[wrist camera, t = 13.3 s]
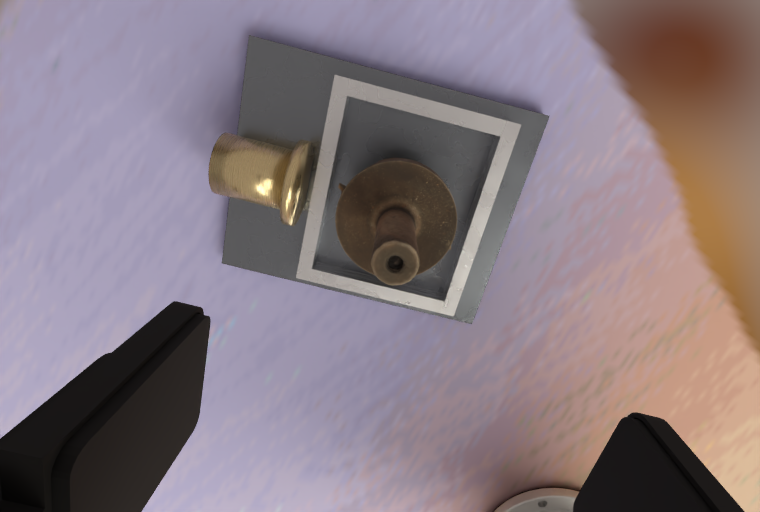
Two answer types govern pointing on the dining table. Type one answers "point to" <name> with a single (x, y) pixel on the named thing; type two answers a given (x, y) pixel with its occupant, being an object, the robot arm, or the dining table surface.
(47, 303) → the dining table surface
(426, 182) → the industrial component
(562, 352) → the dining table surface
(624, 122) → the dining table surface
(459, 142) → the mounting plate
